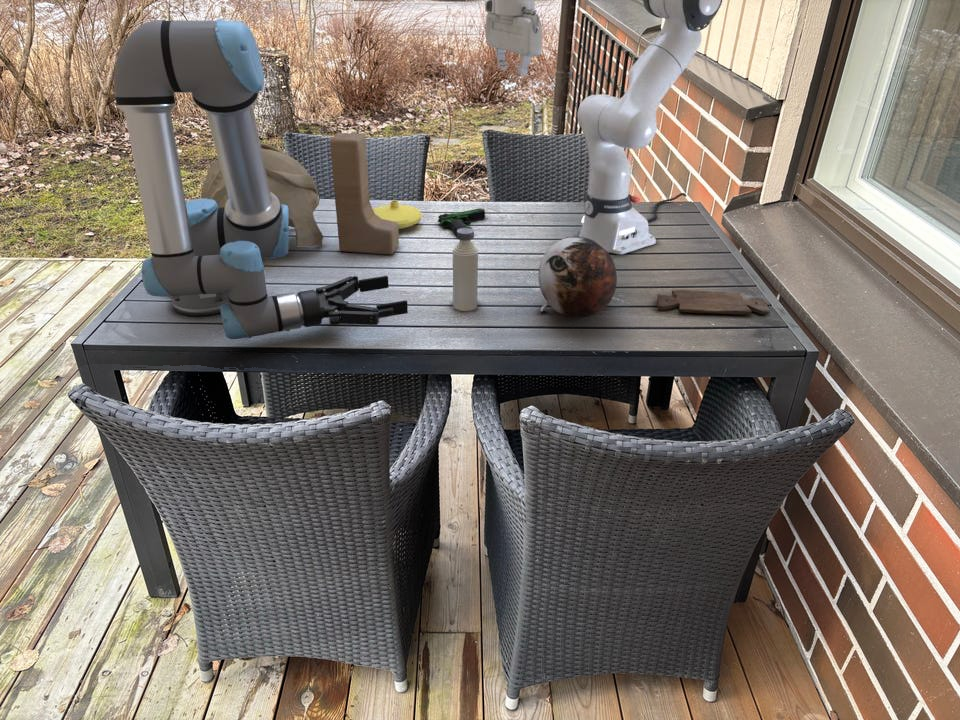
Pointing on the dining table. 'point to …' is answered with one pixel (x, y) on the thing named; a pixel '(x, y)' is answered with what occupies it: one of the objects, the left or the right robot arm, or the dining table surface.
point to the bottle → (465, 276)
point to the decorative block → (357, 200)
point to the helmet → (278, 192)
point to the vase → (399, 214)
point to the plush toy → (577, 277)
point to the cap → (465, 234)
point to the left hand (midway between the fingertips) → (397, 293)
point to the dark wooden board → (711, 302)
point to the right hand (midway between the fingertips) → (512, 72)
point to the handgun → (460, 219)
